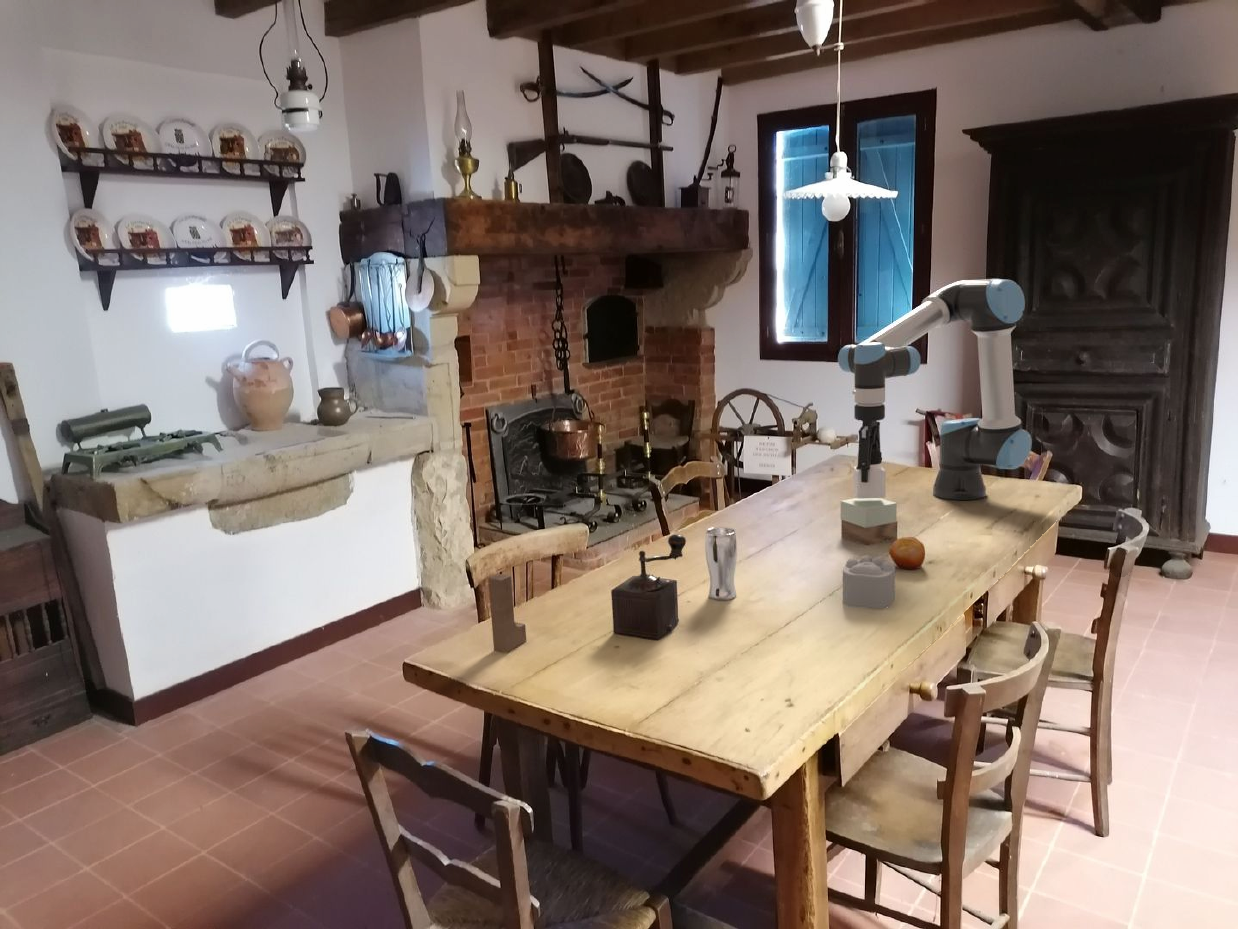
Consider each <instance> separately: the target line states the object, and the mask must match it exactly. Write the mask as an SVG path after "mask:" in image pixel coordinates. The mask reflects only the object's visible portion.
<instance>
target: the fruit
mask: <svg viewBox="0 0 1238 929" xmlns="http://www.w3.org/2000/svg"><path fill="white" fill-rule="evenodd" d="M888 553H889V555H890V558H891V560H892V561H893V563H894V565H895V567H897V568H898V569H904V570H911V569H912V570H918V569H920V567H922V565H923V563H924V561H925V558H926V550H925V546H924V543H923V542H921V541H920V540H919V538H916V537H914V536H907V537H906V536H905V537H904V536H903V537H900V538H897V539H895V540H894V541H893V542H892V543H891V545H890V547H889V549H888Z"/></svg>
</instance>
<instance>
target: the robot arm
mask: <svg viewBox="0 0 1238 929" xmlns="http://www.w3.org/2000/svg"><path fill="white" fill-rule="evenodd" d="M1025 304H1026V301H1025V295H1024V292H1023V290H1022V288H1021V286H1020V285H1019V284H1017V282H1015V281H1014V280H1011V279H1005V278H1004V279H1001V278H986V279H985V278H984V279H962V280H959V281H958V280H957V281H955V282H953V283H950V284H948V285H946V286H944V287H941V288H940V289H938V290H936V291H934V292H932V293H931V294H929V295H927V296H926V297H925V298H924V299H922V301H921V304H920V305H919V306H917V307H916V308H913V309H912V310H911V311H909V312H908V313H906V314H905V315H903V316H901V317H900V318H898V319H897V320H895V321H894V322H892V323H890V324H889V325H887V326H886V327H884V328H882V329H880V331H877V332H876V333H875V334H873V335H872V336H870V337H868V338H867V339H865V340H864V341H862V342H860V343H858V344H855V343H854V344H853V343H852V344H847V345H844V346H843V347H842V348H841V349H840V350H839V353H838V356H837V362H838V365H839V367H840V369H841V371H844V372H845V373H852V374H854V390H852V392H851V393H852V394H853V395H854V403H855V405H854V411H853V412H854V419H855V420H857V421H861V422H862V425H861V426H860V429H859V430H858V450H857V453H858V466H857V465H856V466H857V467H856V469H858V470H860V494H866V495H871V469H870V462H871V452H872V449H876V450H879V451H880V452H881V438H880V437H881V432H880V428H881V426H880V425H881V422H880V421H882V420H884V419H885V416H886V406H885V404H884V403H885V402H886V379H890V378H897V377H898V378H899V377H907V376H910V375H913V374H915V373H916V372H918V370H919V368H920V366H921V355H920V353H919V351H918V350H917V348H915V347H914V346H909V345H910V344H912V343H914V342H915V341H917V340H918V339H920V338H921V337H923V336H925V335H926V334H927V333H929V332H930V331H933V329H936V328H937V329H938V328H939V329H940V328H943V327H945V326H946V325H948V324H951V323H958V322H959V323H960V322H967V323H970V331H971V333H973V334H974V335H976V337H977V350H978V364H979V365H978V367H979V379H980V380H979V381H980V382H979V383H980V396H981V410H982V411H981V412H982V417H981V418H979V417H973V418H972V417H969V418H957V419H951V420H946V421H944V422H942V423H941V424H940V432H939V469H938V472H937V475H936V479H935V480H934V481H935V482H934V484H933V486H932V494H933V495H934V496H935V497H938V498H940V499H945V500H954V501H971V500H973V501H974V500H977V499H982V498H985V497H986V496H987V487H986V485H985V483H984V477H983V474H982V471H981V466H985V467H991V468H997V469H999V470H1015V469H1018V468H1020V467H1021V466H1022V465H1024V463H1025V462H1026V460H1027V459H1028V457H1029V456H1030V452H1031V449H1032V443H1033V442H1032V436H1031V434H1030V432H1028V431H1027V430H1025V429H1022V420H1021V419H1020V418H1019V417H1018V416H1017V415H1016V410H1015V409H1016V408H1015V392H1014V390H1015V388H1014V373H1013V371H1014V370H1013V369H1014V368H1013V356H1012V355H1013V353H1012V335H1011V333H1012V332H1013V330H1015V328H1016V327H1017V322H1018V321H1019V320H1020V319H1021V318H1022V317H1023V315H1024V313H1023V312H1024V311H1025V307H1026V306H1025Z"/></svg>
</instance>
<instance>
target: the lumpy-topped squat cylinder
mask: <svg viewBox="0 0 1238 929" xmlns="http://www.w3.org/2000/svg"><path fill="white" fill-rule="evenodd" d="M895 599H896V565H895V564H893V563H892V562H891V561H890V560H886V559H884V557H883V556H879V555H878V556H876V557H871V555H863V556H861V558H857V559H856V558H855V557H854V558H852V557H851V558H849V559H847V561H846V563H845V565H844V566H843V569H842V604H843V605H845V606H847V607H852V608H864V609H870V610H871V609H872V610H885V609H884V608H886V609H888V608H890V607H891V606H892V603H894V602H895ZM887 607H888V608H887Z"/></svg>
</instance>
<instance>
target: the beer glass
mask: <svg viewBox="0 0 1238 929" xmlns="http://www.w3.org/2000/svg"><path fill="white" fill-rule="evenodd" d="M704 540H705V541H704V543H705V545H704V546H705V547H704V548H705V550H704V551H705V559H706V565H707V569H708V574H709V591H708V597H709V598H710V599H712V600H714V601H715V600H716V601H729V600H730V601H731V600H733V599H735V598H737V590H736V586H735V575H736V574H735V573H736V566H737V560H738V541H737V540H738V539H737V532H736V529H735V528H733V527H730V526H729V527H727V526H715V527H710V528H708V529H706V530H705V539H704Z"/></svg>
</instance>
